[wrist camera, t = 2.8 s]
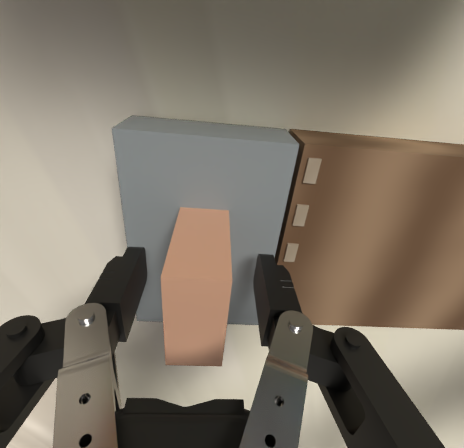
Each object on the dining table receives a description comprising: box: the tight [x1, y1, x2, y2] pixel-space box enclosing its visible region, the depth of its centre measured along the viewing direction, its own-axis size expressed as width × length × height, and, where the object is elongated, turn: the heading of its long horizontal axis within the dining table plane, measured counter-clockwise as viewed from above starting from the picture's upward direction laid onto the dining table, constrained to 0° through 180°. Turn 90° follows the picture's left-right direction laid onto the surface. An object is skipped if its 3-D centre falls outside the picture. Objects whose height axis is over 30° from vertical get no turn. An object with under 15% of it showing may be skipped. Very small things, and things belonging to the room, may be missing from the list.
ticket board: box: [274, 129, 464, 330], centre depth 17 cm, size 16×12×3 cm
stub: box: [112, 116, 299, 366], centre depth 14 cm, size 8×12×8 cm, turn 175°
